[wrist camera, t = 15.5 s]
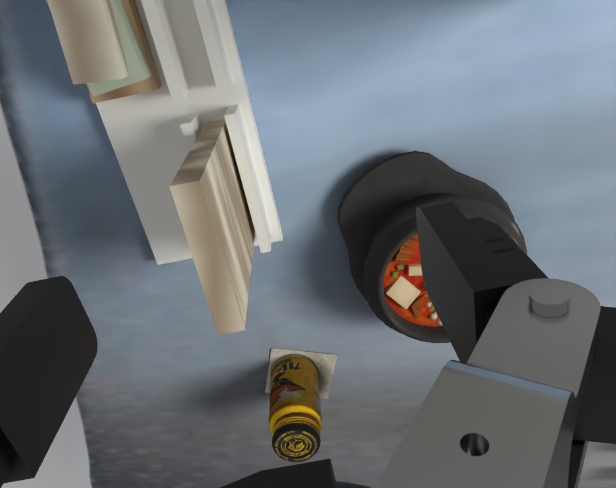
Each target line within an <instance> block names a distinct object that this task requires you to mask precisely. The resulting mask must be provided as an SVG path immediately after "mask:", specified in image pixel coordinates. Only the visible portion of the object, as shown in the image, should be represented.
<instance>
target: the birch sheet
mask: <svg viewBox="0 0 616 488" xmlns="http://www.w3.org/2000/svg"><path fill="white" fill-rule="evenodd" d="M169 187H170V190H171V193H172V196H173V199H174V202H175V205H176V208H177V211H178V214H179V217H180V220H181V223H182V226H183V229H184V232H185V235H186V238H187V241H188V244H189V247H190V250H191V254H192V257H193V260H194V263H195V266H196V269H197V272H198V275H199V278H200V281H201V284H202V287H203V290H204V293H205V296H206V299H207V302H208V305H209V308H210V311H211V314H212V317H213V320H214V323H215V326H216V329H217V333H218V335H221V334H226V333H232V332H238V331H243V330H245V321H246V311H247V302H248V293H249V284H250V274H251V265H252V256H253V247H254V238H255V228H254V225H253V221H252V217H251V214H250V210H249V206H248V202H247V199H246V195H245V191H244V188H243V184H242V180H241V177H240V173H239V169H238V165H237V162H236V158H235V154H234V151H233V147H232V143H231V139H230V136H229V132H228V128H227V125H226V121H225V118H220V119H215V120H210V121H207V122H206V123H205V125H204V127H203V129H202V130H201V132H200V134H199V136H198V137H197V139H196V141H195V143H194V144H193V146H192V148H191V150H190V151H189V153H188V155H187V156H186V158H185V160H184V162H183V163H182V165H181V167H180V169H179V170H178V172H177V174H176V176H175V177H174V179H173V181H172V183H171V184H170V186H169Z"/></svg>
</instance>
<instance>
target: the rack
mask: <svg viewBox="0 0 616 488" xmlns="http://www.w3.org/2000/svg"><path fill="white" fill-rule="evenodd" d="M135 2H136V5H137V9H138V12H139V15H140V18H141V21H142V24H143V27H144V31H145V34H146V37H147V40H148V43H149V46H150V49H151V53H152V56H153V59H154V62H155V65H156V68H157V71H158V75H159V78H160V81H161V84H162V87H160V88H159V89H158V90H154V91H150V92H145V93H140V94H136V95H131V96H126V97H121V98H117V99H112V100H107V101H103V102H98V103H96V105H97V108H98V110H99V113H100V115H101V118H102V121H103V123H104V126H105V128H106V131H107V134H108V136H109V139H110V142H111V144H112V147H113V149H114V152H115V155H116V157H117V160H118V162H119V165H120V168H121V170H122V173H123V175H124V178H125V181H126V183H127V186H128V189H129V191H130V194H131V196H132V199H133V202H134V204H135V207H136V209H137V212H138V215H139V217H140V220H141V222H142V225H143V228H144V230H145V233H146V236H147V238H148V241H149V243H150V246H151V249H152V251H153V254H154V256H155V259H156V262H157V264H158V265H160V264H165V263H170V262H175V261H180V260H185V259H190V258H193V257H192V254H191V250H190V247H189V244H188V241H187V238H186V235H185V232H184V229H183V226H182V223H181V220H180V217H179V214H178V211H177V208H176V205H175V202H174V199H173V196H172V193H171V190H170V187H169V186H170V184H171V183H172V181H173V179H174V177H175V176H176V174H177V172H178V170H179V169H180V167H181V165H182V163H183V162H184V160H185V158H186V156H187V155H188V153H189V151H190V150H191V148H192V146H193V144H194V143H195V141H196V139H197V137H198V136H199V134H200V132H201V130H202V129H203V127H204V125H205V123H206V122H207V121H210V120H215V119H220V118H225V121H226V125H227V128H228V132H229V136H230V139H231V143H232V147H233V151H234V154H235V158H236V162H237V165H238V169H239V173H240V177H241V180H242V184H243V188H244V191H245V195H246V199H247V202H248V206H249V210H250V214H251V217H252V221H253V225H254V228H255V238H254V246H257V245H259V247H260V251H261V253H265V252H270V251H271V243H272V242H277V241H282V240H283V234H282V230H281V226H280V221H279V217H278V213H277V209H276V205H275V201H274V197H273V193H272V189H271V184H270V180H269V176H268V172H267V168H266V164H265V160H264V156H263V151H262V147H261V143H260V139H259V135H258V131H257V127H256V123H255V118H254V114H253V110H252V106H251V102H250V98H249V94H248V90H247V85H246V81H245V77H244V73H243V69H242V65H241V61H240V57H239V52H238V48H237V44H236V40H235V36H234V32H233V28H232V24H231V19H230V15H229V11H228V7H227V3H226V0H135Z"/></svg>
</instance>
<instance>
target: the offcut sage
mask: <svg viewBox="0 0 616 488" xmlns="http://www.w3.org/2000/svg"><path fill="white" fill-rule="evenodd" d="M45 1H46V3H47V5H48V7H49V4H48V1H47V0H45ZM110 2H111V6H112V10H113V14H114V17H115V21H116V25H117V29H118V33H119V37H120V41H121V45H122V49H123V52H124V56H125V60H126V64H127V68H128V72H129V76H127V77H125V78H123V79H118V80H109V81H101V82H92V83H86V84H87V86H88V88H89V90H90V92H91V94H92V96H93V97H94V96H97V95H100V94H103V93H106V92H109V91H112V90H115V89H118V88H121V87H124V86H127V85H130V84H133V83H136V82H139V81H142V80H145V79H147V78H149V77H150V76H152V72H151V70H150V68H149V65H148V63H147V61H146V58H145V56H144V54H143V51H142V49H141V47H140V44H139V42H138V40H137V38H136V35H135V33H134V31H133V28H132V26H131V24H130V21H129V19H128V17H127V14H126V12H125V10H124V7H123V5H122V3H121V0H110ZM49 9H50V7H49Z"/></svg>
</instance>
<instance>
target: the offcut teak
mask: <svg viewBox="0 0 616 488" xmlns="http://www.w3.org/2000/svg"><path fill="white" fill-rule="evenodd" d="M121 3H122V5H123V7H124V10H125V12H126V14H127V17H128V19H129V21H130V24H131V26H132V28H133V31H134V33H135V35H136V38H137V40H138V42H139V44H140V47H141V49H142V51H143V54H144V56H145V58H146V61H147V63H148V65H149V68H150V70H151V72H152V76H150V77H149V78H147V79H145V80H142V81H139V82H136V83H133V84H130V85H127V86H124V87H121V88H118V89H115V90H112V91H109V92H106V93H103V94H100V95H97V96H94V97H93V96H92V94H91V92H90V90H89V88H88V86H87V84H86V83H85V85H86V88H87V90H88V93H89V95H90V98H91V100H92V103H98V102H103V101H107V100H112V99H117V98H121V97H126V96H131V95H136V94H140V93H145V92H150V91H154V90H158V89H159V88H160V87H162V84H161V81H160V78H159V75H158V71H157V68H156V65H155V62H154V59H153V56H152V53H151V49H150V46H149V43H148V40H147V37H146V34H145V31H144V27H143V24H142V21H141V18H140V15H139V12H138V9H137V5H136V2H135V0H121Z"/></svg>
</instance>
